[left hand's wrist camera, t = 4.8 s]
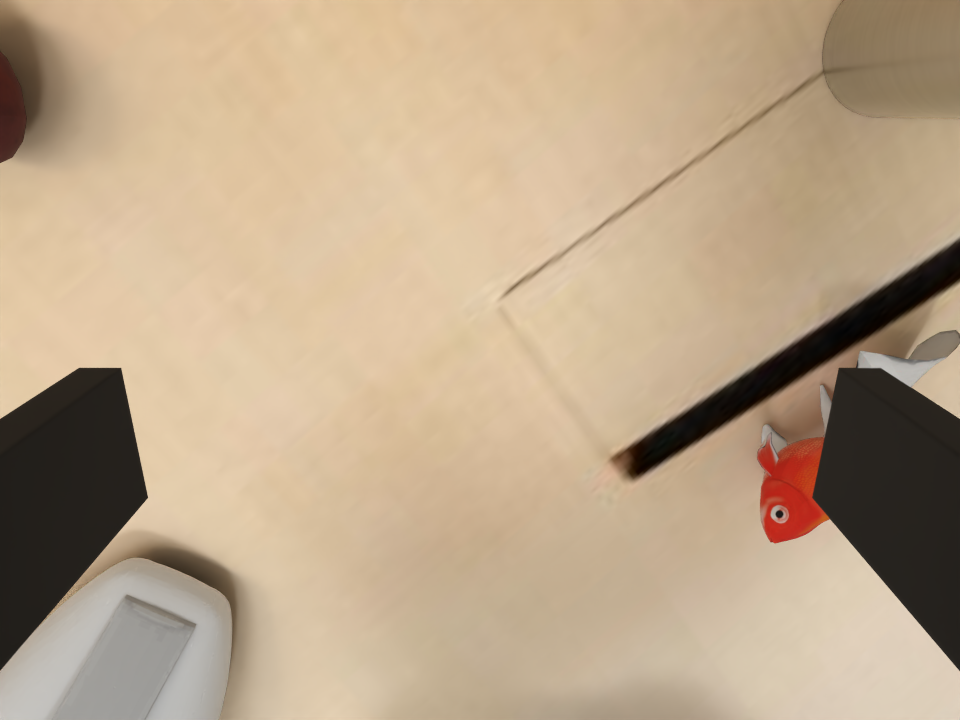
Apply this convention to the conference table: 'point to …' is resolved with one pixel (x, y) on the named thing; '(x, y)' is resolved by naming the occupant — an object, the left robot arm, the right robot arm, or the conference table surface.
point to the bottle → (895, 58)
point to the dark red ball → (10, 111)
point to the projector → (125, 651)
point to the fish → (797, 464)
